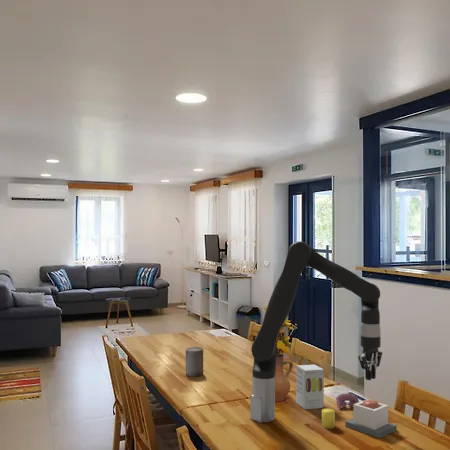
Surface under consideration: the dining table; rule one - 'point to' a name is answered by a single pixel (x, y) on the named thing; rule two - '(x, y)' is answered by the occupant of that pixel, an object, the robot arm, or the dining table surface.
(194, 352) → the pillar candle
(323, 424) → the cap
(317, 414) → the dining table surface
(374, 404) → the button
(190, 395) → the dining table surface
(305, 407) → the supplement box
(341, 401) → the video game controller
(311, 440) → the dining table surface
